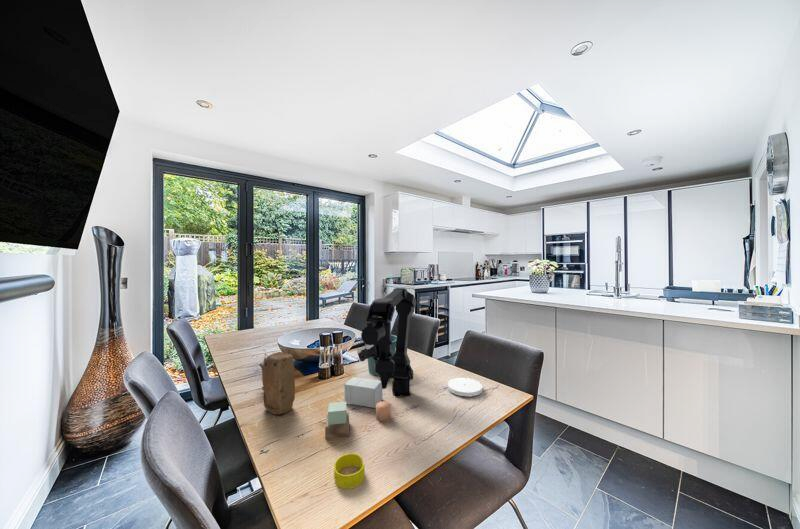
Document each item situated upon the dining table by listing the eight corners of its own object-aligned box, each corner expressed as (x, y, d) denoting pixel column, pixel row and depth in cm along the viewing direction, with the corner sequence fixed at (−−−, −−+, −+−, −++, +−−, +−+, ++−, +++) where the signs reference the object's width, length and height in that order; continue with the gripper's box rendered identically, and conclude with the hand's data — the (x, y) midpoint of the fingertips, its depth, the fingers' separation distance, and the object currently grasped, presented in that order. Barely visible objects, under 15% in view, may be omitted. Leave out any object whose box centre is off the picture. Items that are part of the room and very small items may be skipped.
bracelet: (337, 493, 67) (337, 479, 67) (331, 470, 74) (331, 458, 74) (368, 483, 70) (367, 470, 70) (359, 462, 77) (358, 450, 77)
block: (297, 408, 105) (296, 353, 105) (279, 418, 99) (278, 360, 98) (277, 401, 111) (276, 349, 110) (259, 410, 104) (258, 355, 104)
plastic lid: (458, 401, 110) (458, 394, 110) (441, 386, 123) (441, 380, 123) (489, 395, 114) (489, 389, 114) (470, 381, 128) (470, 375, 128)
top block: (346, 413, 94) (346, 401, 94) (346, 423, 89) (346, 410, 89) (329, 415, 93) (329, 403, 93) (328, 425, 88) (327, 412, 88)
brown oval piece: (389, 413, 101) (389, 400, 101) (391, 421, 96) (391, 407, 96) (375, 414, 101) (375, 401, 101) (376, 422, 96) (376, 409, 96)
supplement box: (344, 403, 108) (374, 408, 104) (344, 383, 108) (374, 388, 104) (353, 395, 115) (382, 399, 111) (353, 376, 115) (382, 380, 111)
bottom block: (349, 424, 95) (349, 412, 95) (348, 437, 88) (348, 424, 88) (327, 426, 94) (327, 414, 94) (325, 439, 87) (325, 426, 87)
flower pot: (397, 378, 131) (397, 342, 131) (361, 378, 131) (361, 343, 131) (398, 364, 148) (398, 333, 147) (366, 365, 148) (366, 333, 148)
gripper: (358, 331, 106) (358, 373, 106) (358, 346, 88) (359, 397, 88) (388, 330, 108) (388, 371, 108) (395, 344, 89) (395, 394, 90)
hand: (382, 382), depth 98 cm, fingers open, 9 cm apart
